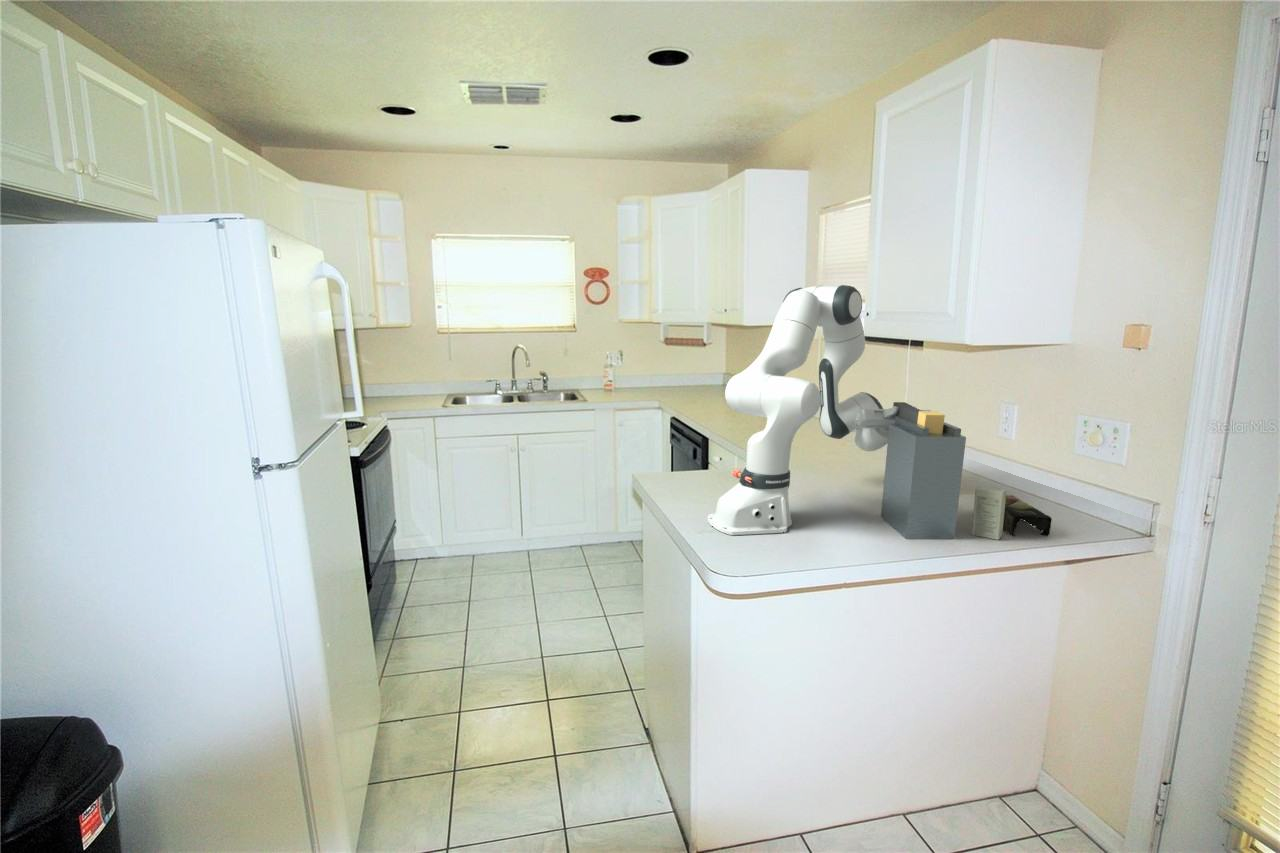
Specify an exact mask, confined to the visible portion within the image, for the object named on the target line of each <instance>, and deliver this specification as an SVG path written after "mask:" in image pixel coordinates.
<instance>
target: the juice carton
mask: <svg viewBox="0 0 1280 853" xmlns="http://www.w3.org/2000/svg"><path fill="white" fill-rule="evenodd" d="M1021 519H1023V520H1025V521H1026V522H1028V523H1029V524H1032V526H1034V527H1035V529H1036V530H1037V529H1038V530H1037V531H1039V530H1040V531H1041V532H1040V531H1039V532H1040V533H1039V535H1040V536H1045V537H1049V535H1050V533H1051V529H1052V528H1051V527H1052V519H1053V518H1052V516H1050V515H1048V514H1045V513H1044V512H1043V511H1041V510H1039V509H1037V508H1036V507H1034V506H1032V505H1030V504H1028V503H1027V502H1025V501H1023V500H1022V499H1020V498H1018V497H1017V496H1015V495H1010V494H1006V501H1005V511H1004V521H1003V531H1004V532H1005V531H1006V533H1007V534H1008V533H1009V534H1010V536H1011V535H1012V536H1011V537H1016V535H1015V532H1016V529H1017V527H1018V524H1019V523H1020V521H1023V520H1021ZM1026 522H1025V523H1026ZM1028 523H1027V524H1028ZM1029 524H1028V525H1029ZM1032 526H1031V527H1032ZM1009 534H1008V535H1009Z"/></svg>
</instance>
